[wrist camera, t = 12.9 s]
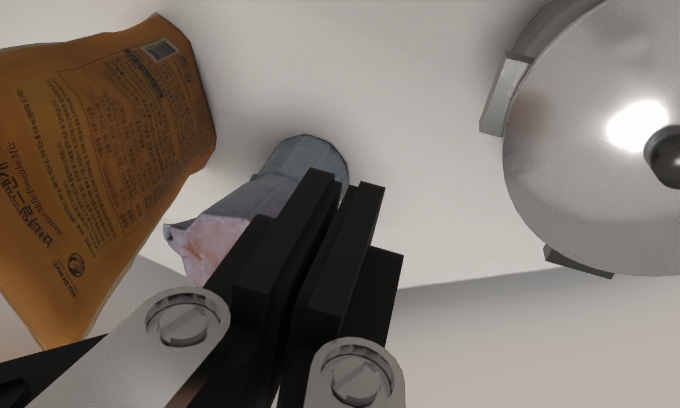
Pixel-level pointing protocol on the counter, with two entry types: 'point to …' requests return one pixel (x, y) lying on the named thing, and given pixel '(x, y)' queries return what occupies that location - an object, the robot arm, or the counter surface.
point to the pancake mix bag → (91, 166)
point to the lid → (603, 140)
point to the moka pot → (250, 204)
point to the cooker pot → (540, 32)
